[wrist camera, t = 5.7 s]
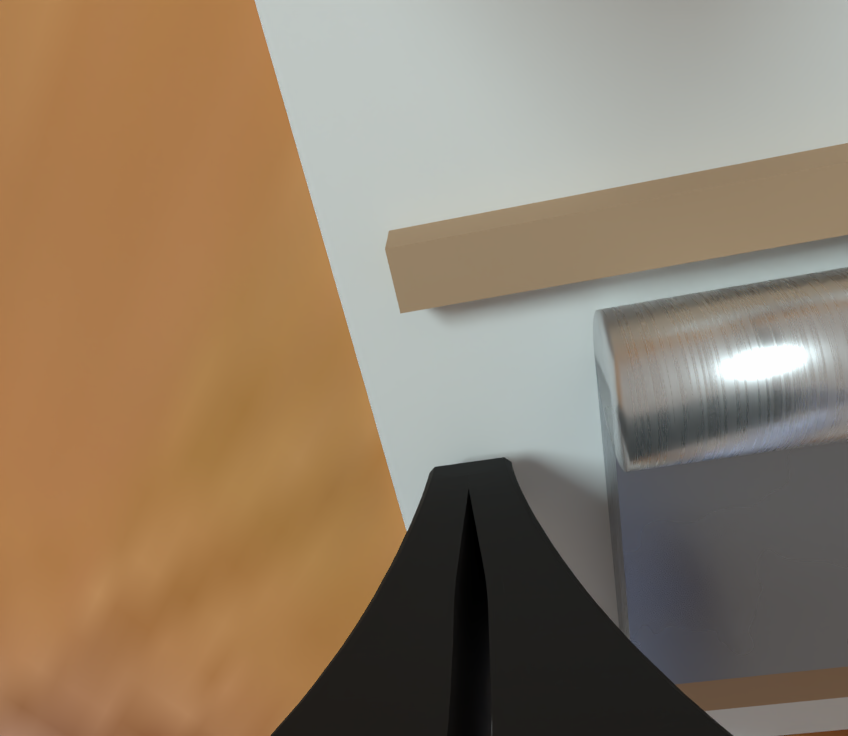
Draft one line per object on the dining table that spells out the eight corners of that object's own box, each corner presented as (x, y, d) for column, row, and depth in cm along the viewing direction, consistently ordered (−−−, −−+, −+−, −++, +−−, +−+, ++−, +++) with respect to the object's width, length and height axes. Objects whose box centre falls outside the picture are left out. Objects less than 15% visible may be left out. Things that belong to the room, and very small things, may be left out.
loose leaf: (974, 596, 13) (1072, 709, 11) (619, 637, 14) (650, 749, 12) (1086, 196, 10) (1269, 255, 7) (587, 284, 10) (625, 359, 8)
